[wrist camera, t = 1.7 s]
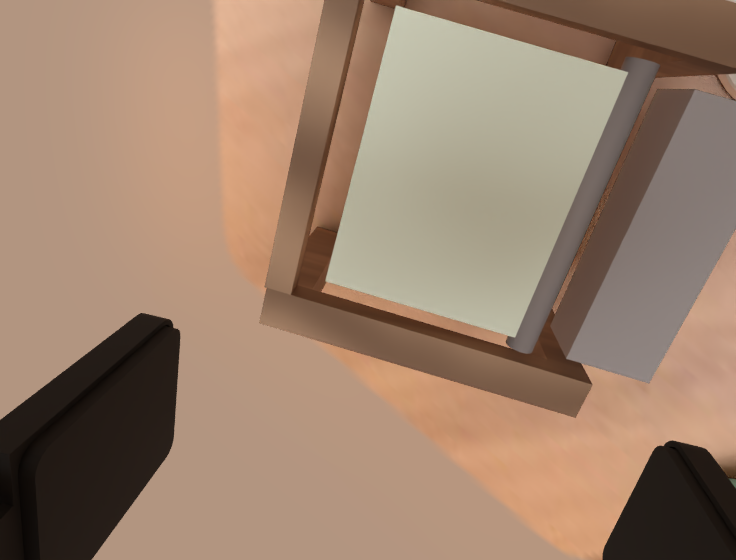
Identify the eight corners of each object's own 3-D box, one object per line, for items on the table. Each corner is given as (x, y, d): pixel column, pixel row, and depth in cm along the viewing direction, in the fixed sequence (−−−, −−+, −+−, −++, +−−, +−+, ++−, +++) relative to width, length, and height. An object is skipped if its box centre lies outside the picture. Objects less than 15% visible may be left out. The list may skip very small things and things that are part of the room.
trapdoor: (403, 1, 21) (399, -14, 18) (751, 101, 20) (805, 103, 17) (333, 271, 25) (319, 296, 22) (618, 356, 25) (643, 393, 22)
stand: (378, -37, 27) (346, -108, 17) (653, 42, 27) (781, 16, 17) (309, 252, 33) (257, 322, 23) (532, 318, 33) (575, 417, 23)
